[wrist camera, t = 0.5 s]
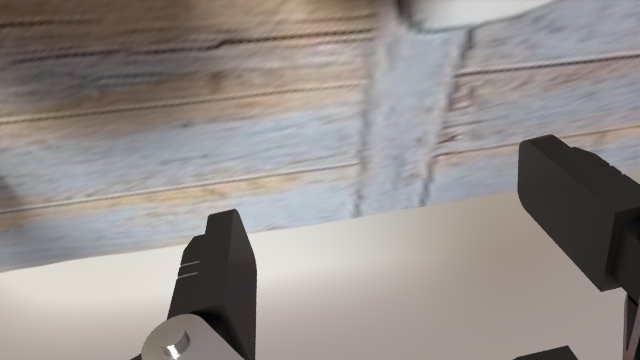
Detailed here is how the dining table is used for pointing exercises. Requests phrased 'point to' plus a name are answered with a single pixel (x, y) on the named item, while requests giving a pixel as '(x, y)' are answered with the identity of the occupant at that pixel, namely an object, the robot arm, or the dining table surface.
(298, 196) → the dining table surface
